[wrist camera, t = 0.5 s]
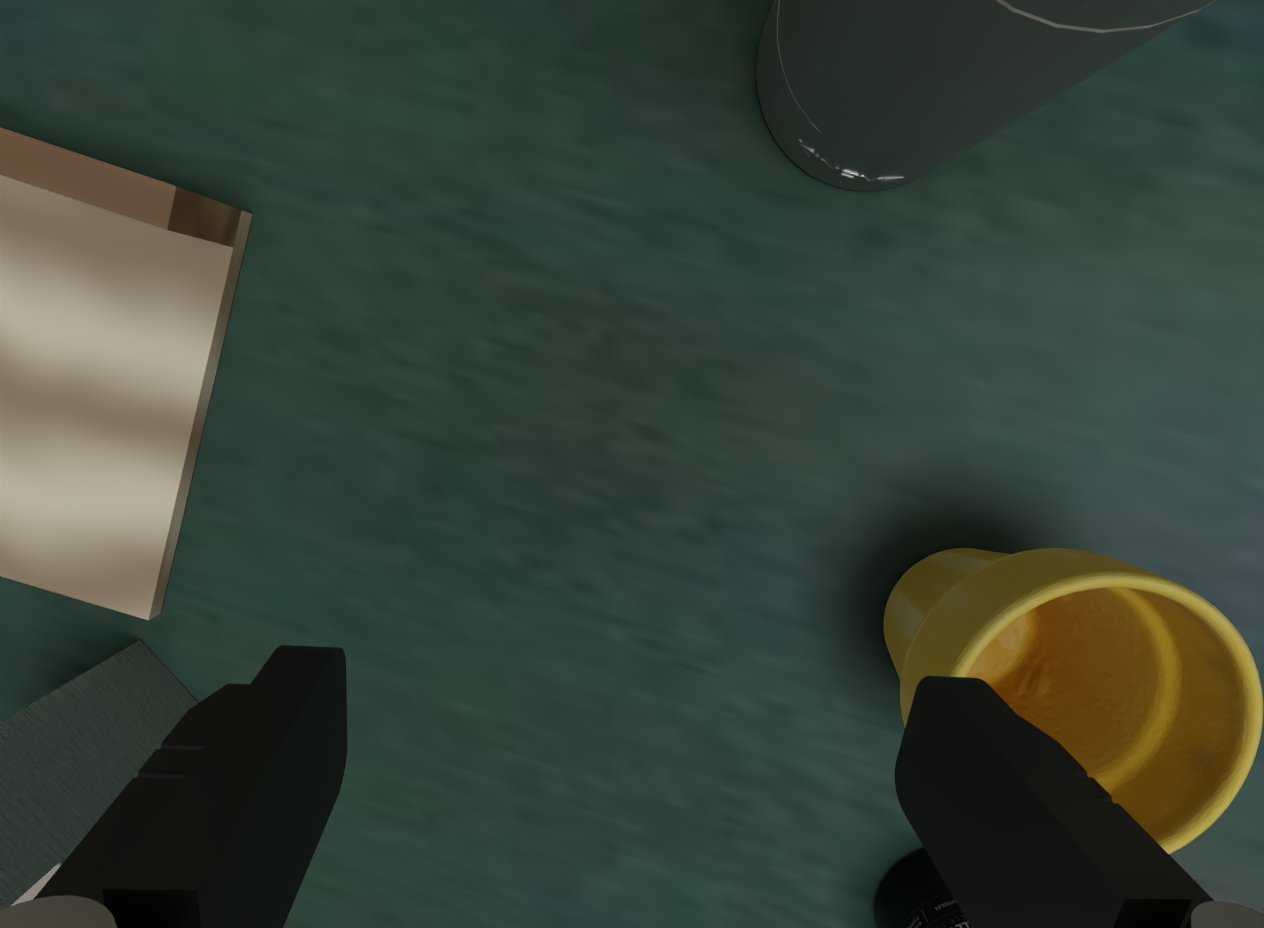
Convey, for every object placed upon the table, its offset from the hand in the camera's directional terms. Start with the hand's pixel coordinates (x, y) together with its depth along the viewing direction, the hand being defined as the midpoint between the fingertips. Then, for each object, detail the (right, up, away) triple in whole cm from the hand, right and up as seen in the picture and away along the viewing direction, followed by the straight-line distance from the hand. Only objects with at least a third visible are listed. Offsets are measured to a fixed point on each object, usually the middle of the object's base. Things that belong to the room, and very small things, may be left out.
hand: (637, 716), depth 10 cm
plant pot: (+15, -3, +22) cm, 26 cm away
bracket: (-23, -8, +22) cm, 33 cm away
